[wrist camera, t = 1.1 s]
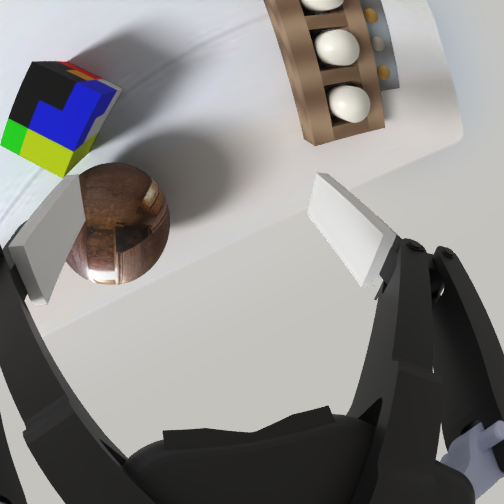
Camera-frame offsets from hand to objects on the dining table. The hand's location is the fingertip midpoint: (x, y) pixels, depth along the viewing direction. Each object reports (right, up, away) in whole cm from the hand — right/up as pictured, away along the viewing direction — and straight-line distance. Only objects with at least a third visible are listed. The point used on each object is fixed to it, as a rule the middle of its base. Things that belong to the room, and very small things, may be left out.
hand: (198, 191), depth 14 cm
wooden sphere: (-16, +5, +23) cm, 29 cm away
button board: (+16, +26, +16) cm, 35 cm away
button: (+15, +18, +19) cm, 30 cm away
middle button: (+13, +24, +14) cm, 30 cm away
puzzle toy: (-21, +16, +14) cm, 30 cm away
